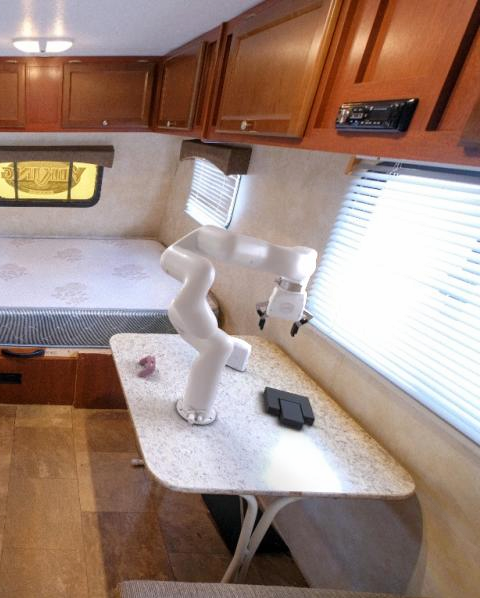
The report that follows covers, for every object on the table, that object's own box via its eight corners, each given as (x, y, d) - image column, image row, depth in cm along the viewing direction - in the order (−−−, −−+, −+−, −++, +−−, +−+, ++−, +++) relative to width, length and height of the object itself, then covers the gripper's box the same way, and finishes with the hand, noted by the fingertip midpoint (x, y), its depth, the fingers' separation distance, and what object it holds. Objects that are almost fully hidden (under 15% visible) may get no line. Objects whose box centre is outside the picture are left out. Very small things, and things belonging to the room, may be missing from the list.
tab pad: (301, 430, 117) (304, 423, 116) (281, 424, 119) (283, 417, 118) (296, 410, 126) (299, 404, 125) (277, 405, 128) (280, 399, 127)
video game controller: (147, 381, 138) (158, 369, 135) (137, 375, 137) (148, 363, 134) (147, 366, 147) (157, 355, 144) (138, 361, 146) (148, 349, 143)
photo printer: (246, 368, 148) (254, 343, 143) (242, 373, 145) (250, 346, 140) (221, 358, 154) (229, 332, 149) (217, 361, 151) (224, 336, 146)
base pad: (312, 425, 120) (315, 418, 118) (266, 413, 124) (268, 406, 123) (305, 403, 130) (308, 397, 129) (263, 392, 134) (265, 386, 133)
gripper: (263, 283, 115) (249, 330, 122) (325, 294, 110) (306, 343, 117) (261, 276, 121) (248, 321, 128) (319, 286, 116) (302, 332, 123)
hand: (276, 331), depth 122 cm, fingers open, 9 cm apart
